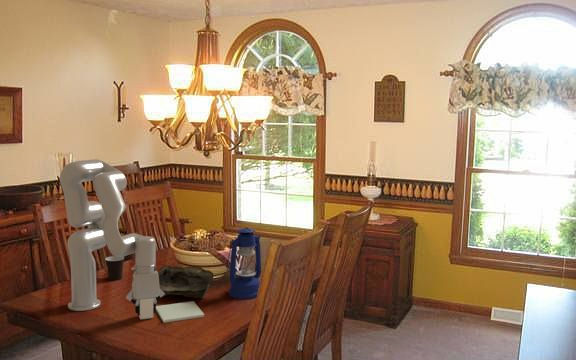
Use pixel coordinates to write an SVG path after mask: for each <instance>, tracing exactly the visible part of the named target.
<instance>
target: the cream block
mask: <svg viewBox="0 0 576 360" xmlns="http://www.w3.org/2000/svg"><path fill="white" fill-rule="evenodd" d="M139 306H140V315H139V316H138V317H139V319H140V320H147V319H153V318H154V314H153V298H147V299H140V301H139Z"/></svg>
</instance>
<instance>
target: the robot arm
mask: <svg viewBox="0 0 576 360" xmlns="http://www.w3.org/2000/svg"><path fill="white" fill-rule="evenodd" d="M59 181H60V186H61V188H62V192H63V195H64V203H65V210H66V215H67V216H66V217H67V221H68V224H69V225H70V226H71V227H73V228H81V227H82V228H83V227H86V226H87V228H84V229H80V230H77V231H75V232H73V233H72V234H71V235H70V236H69V237H68V239H67V241H66V242H67V243H66V244H67V249H68V253H69V254H68V255H69V260H70V278H71V280H70V281H71V283H70V284H71V301H69V302H68V303H67V308H68V309H69V310H70V311H75V312H83V311H84V312H85V311H90V310H93V309H96V308H99V307H100V306H101V302H102V301H101V300H100V299H98V298H97V264H96V260H95V258H94V254H92V252H94V251H97V250H100V249H104V247H105V246H107V248H108V251H109V252H110V253H111V254H112V256H116V257H126V256H128V255H131V254H134V256H135V263H134V265H133V266H131V271H134V272H133V275H132V281H131V282H132V283H131V289H130V291H129V292H128V293H127V294H126V297H125V298H126V300H127V301H129V302H130V303H132V304H133V305H134V311H135V312H134V313H135V314H136V315H137V316H138V317H139V315H140V306H139V301H140V299H147V298H153V315H154V314H155V312H157V311H156V306H157V302H159V301H160V299H161V298H162V296H163V295H164V294H165V293H164V292H163V291H162V290H161V288H160V287H159V276H158V270H156V267H157V266H156V260H157V259H156V257H157V256H156V255H157V254H156V246H157V245H156V244H157V243H156V239H155V237H153V236H150V235H149V236H147V235H141V234H138V233H135V232H134V233H133V232H132V233H131V232H130V233H129V234H124V235H121V233H120V231H119V219H120V217H121V215H122V214H123V213H124V212H125V210H126V209H127V205H126V203H125V201H124V198H123V195H122V194H121V191H123V190H124V189H126V188H127V184H128V180H127V178H126V176H125V174H124V173H123V172H122V171H121V170H119V169H118V168H116V167H114V166H113V165H111V164H109V163H107V162H105V161H104V160H101V159H96V158H95V159H86V160H85V159H84V160H83V159H82V160H75V161H71V162H69V163H67V164H65V166H63V168H62V169H61V171H60V175H59ZM91 181H92V186H93V189H94V191H95V194H96V196H97V199H98V200H99V202H98V201H96V200H95V201H94V200H90V201H89V199H88V193H87V191H86V189H85V187H84V186H83V184H82V183H84V182H91ZM163 297H164V296H163Z"/></svg>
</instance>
